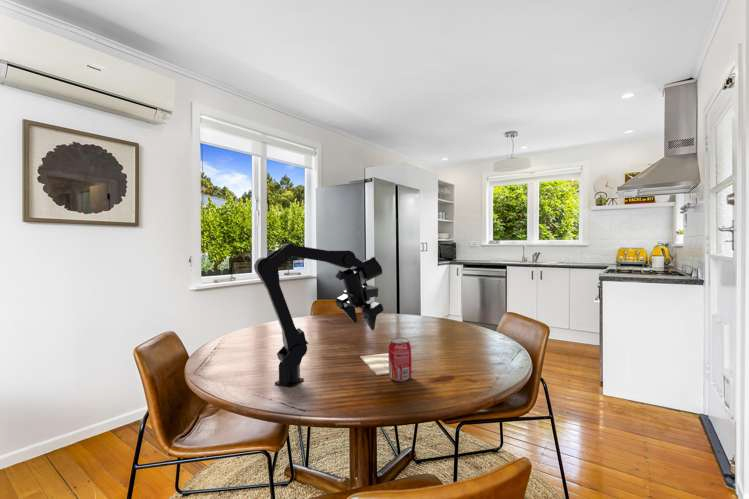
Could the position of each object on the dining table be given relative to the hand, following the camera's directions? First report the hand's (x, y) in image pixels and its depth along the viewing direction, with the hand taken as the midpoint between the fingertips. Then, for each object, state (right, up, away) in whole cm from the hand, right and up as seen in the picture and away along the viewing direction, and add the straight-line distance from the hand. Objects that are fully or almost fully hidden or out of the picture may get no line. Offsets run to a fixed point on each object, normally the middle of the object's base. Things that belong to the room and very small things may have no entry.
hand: (364, 326), depth 129 cm
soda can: (+12, -14, -13) cm, 22 cm away
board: (+7, -14, +1) cm, 15 cm away
